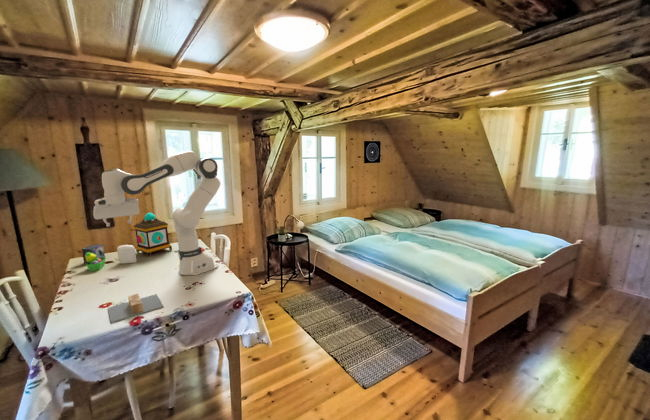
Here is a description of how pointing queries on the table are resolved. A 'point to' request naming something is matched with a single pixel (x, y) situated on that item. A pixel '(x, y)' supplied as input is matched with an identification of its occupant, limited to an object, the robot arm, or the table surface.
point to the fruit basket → (94, 262)
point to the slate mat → (125, 310)
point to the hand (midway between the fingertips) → (119, 224)
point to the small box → (93, 251)
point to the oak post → (135, 303)
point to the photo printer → (126, 254)
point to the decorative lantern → (151, 235)
